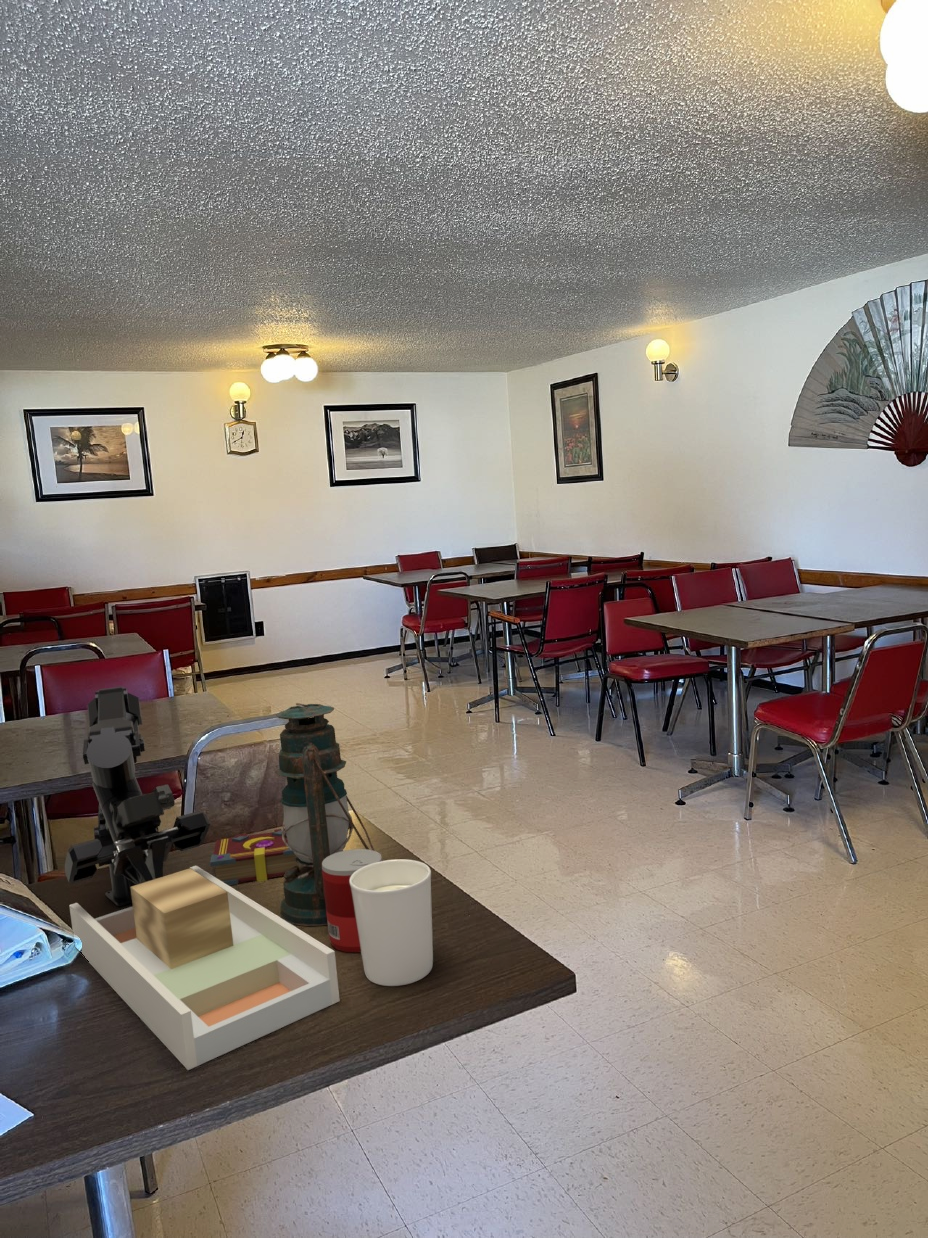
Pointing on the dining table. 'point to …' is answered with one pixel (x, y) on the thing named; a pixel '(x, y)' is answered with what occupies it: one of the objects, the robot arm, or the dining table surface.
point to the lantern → (311, 809)
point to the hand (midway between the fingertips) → (159, 899)
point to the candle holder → (394, 920)
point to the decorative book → (252, 857)
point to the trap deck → (214, 978)
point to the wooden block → (182, 917)
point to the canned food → (343, 895)
